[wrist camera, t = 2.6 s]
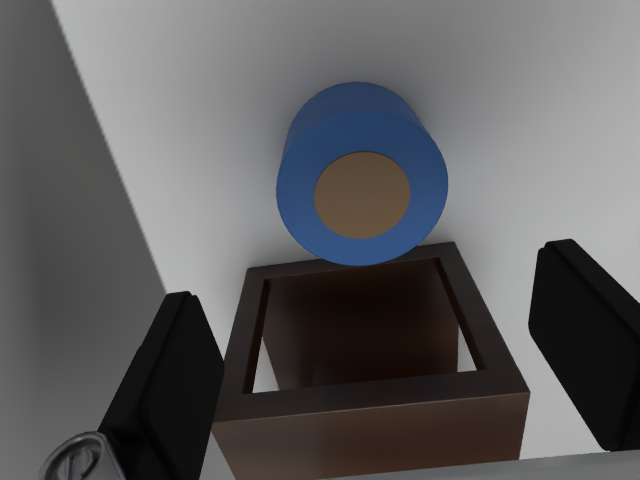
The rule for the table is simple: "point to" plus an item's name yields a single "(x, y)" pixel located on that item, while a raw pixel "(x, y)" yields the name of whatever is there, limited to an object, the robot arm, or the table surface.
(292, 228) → the tape
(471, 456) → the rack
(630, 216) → the table surface
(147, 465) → the robot arm
